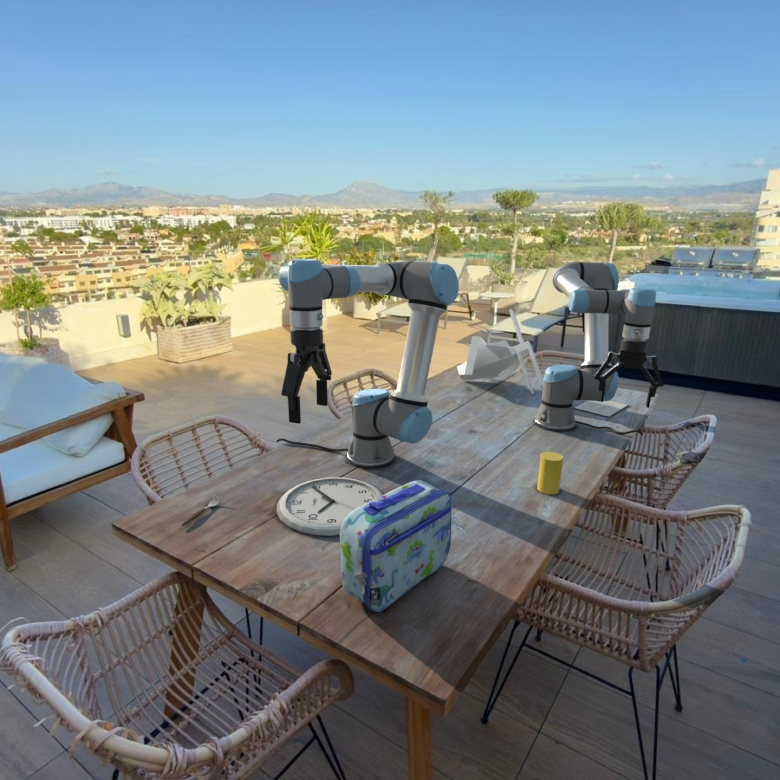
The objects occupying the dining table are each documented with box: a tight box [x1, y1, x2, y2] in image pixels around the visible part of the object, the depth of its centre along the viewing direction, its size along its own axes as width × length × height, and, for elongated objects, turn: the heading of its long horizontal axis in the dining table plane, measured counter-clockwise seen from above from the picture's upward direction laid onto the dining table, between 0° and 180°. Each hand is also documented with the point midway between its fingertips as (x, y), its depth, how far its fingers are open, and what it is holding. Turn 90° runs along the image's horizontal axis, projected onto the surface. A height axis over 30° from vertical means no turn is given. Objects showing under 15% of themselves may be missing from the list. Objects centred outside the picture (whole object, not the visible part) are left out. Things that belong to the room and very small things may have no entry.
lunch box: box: [339, 479, 452, 613], centre depth 109 cm, size 26×11×21 cm, turn 134°
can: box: [536, 451, 564, 496], centre depth 152 cm, size 6×6×11 cm
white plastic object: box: [456, 308, 544, 395], centre depth 252 cm, size 37×45×31 cm
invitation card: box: [573, 400, 629, 418], centre depth 226 cm, size 21×1×15 cm
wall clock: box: [276, 476, 385, 537], centre depth 142 cm, size 30×2×30 cm
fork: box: [180, 491, 225, 527], centre depth 138 cm, size 3×16×2 cm, turn 160°
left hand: (309, 413), depth 128 cm, fingers open, 13 cm apart
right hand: (624, 403), depth 168 cm, fingers open, 13 cm apart
